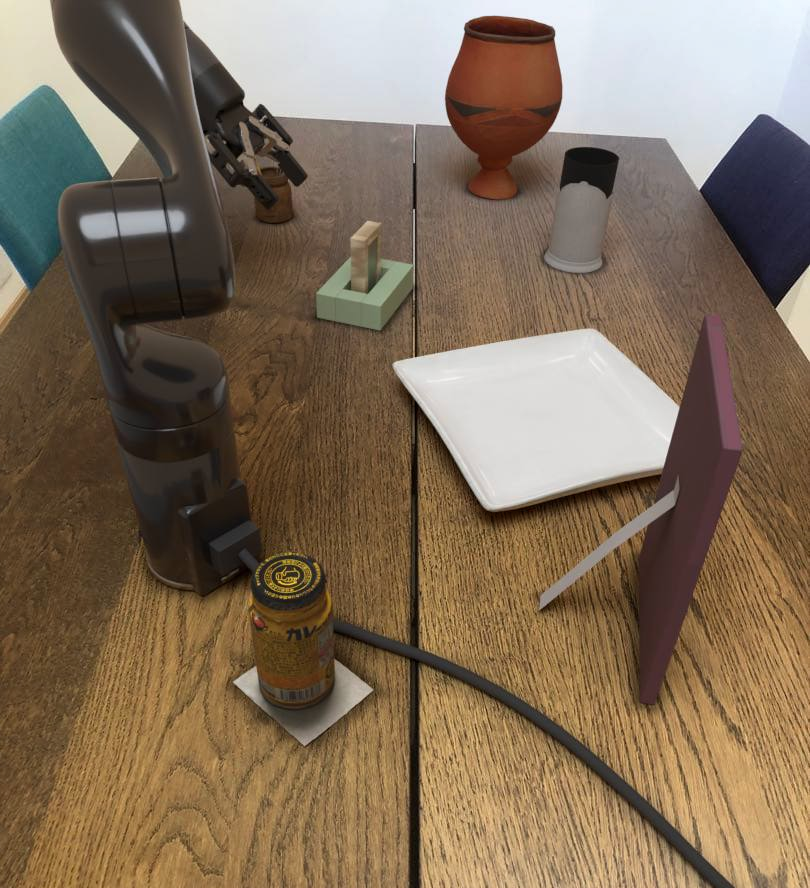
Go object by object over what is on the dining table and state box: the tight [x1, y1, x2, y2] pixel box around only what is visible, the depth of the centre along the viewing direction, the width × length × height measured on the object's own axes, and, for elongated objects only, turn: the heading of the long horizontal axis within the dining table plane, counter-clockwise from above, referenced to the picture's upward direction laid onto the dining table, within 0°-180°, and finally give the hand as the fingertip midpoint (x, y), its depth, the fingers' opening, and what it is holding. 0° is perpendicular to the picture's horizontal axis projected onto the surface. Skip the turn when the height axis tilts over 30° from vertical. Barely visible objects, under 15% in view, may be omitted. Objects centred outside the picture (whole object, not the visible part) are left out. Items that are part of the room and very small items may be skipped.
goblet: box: [444, 15, 564, 200], centre depth 134 cm, size 19×19×25 cm
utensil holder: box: [253, 149, 294, 224], centre depth 128 cm, size 6×6×12 cm
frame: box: [349, 220, 383, 294], centre depth 108 cm, size 2×6×10 cm, turn 161°
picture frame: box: [538, 314, 744, 706], centre depth 63 cm, size 17×10×25 cm, turn 168°
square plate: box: [391, 327, 680, 513], centre depth 90 cm, size 27×27×4 cm
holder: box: [315, 256, 415, 331], centre depth 110 cm, size 9×13×4 cm
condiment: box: [232, 551, 374, 747], centre depth 61 cm, size 7×8×12 cm
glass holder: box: [543, 146, 620, 274], centre depth 120 cm, size 9×14×15 cm, turn 161°
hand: (288, 193), depth 105 cm, fingers open, 8 cm apart
